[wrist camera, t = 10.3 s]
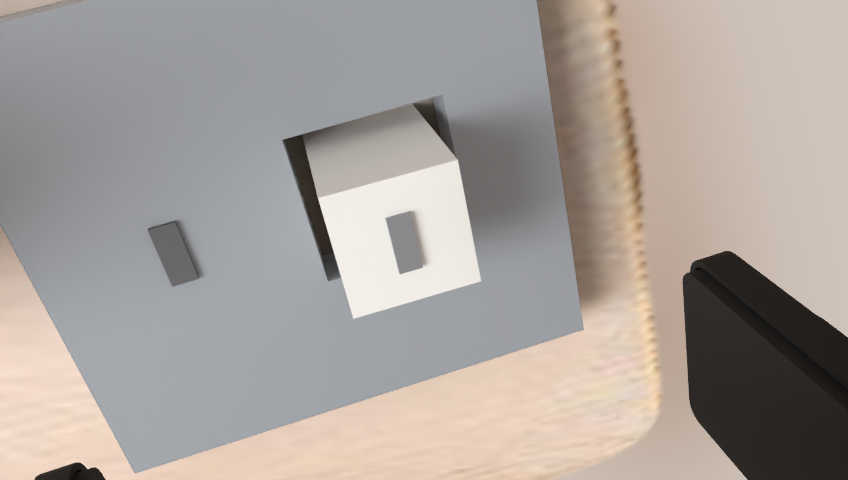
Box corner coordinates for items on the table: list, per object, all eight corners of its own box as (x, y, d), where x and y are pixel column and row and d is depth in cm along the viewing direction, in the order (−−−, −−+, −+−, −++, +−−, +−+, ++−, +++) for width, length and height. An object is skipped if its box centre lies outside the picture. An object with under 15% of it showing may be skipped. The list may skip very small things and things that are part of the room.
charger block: (301, 133, 29) (318, 200, 23) (412, 103, 29) (459, 161, 23) (330, 234, 31) (354, 321, 25) (433, 205, 31) (482, 284, 25)
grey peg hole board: (-67, 34, 25) (-99, 48, 22) (498, -110, 27) (522, -111, 24) (141, 436, 33) (134, 476, 31) (562, 302, 35) (585, 331, 33)
